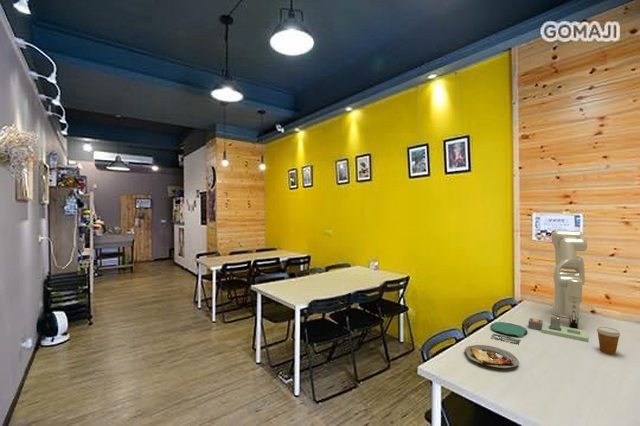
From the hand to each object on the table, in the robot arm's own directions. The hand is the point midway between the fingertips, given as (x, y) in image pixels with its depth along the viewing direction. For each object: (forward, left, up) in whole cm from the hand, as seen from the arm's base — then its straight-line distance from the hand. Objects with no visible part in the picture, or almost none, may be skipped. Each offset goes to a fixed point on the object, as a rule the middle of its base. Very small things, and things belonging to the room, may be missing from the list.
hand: (573, 327), depth 202 cm
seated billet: (+7, -14, -1) cm, 16 cm away
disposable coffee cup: (+31, -1, -2) cm, 31 cm away
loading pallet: (+7, -13, -1) cm, 15 cm away
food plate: (+48, -66, -2) cm, 82 cm away
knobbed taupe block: (0, 0, -1) cm, 1 cm away
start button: (+2, -23, +1) cm, 23 cm away
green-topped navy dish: (+12, -44, -2) cm, 46 cm away
